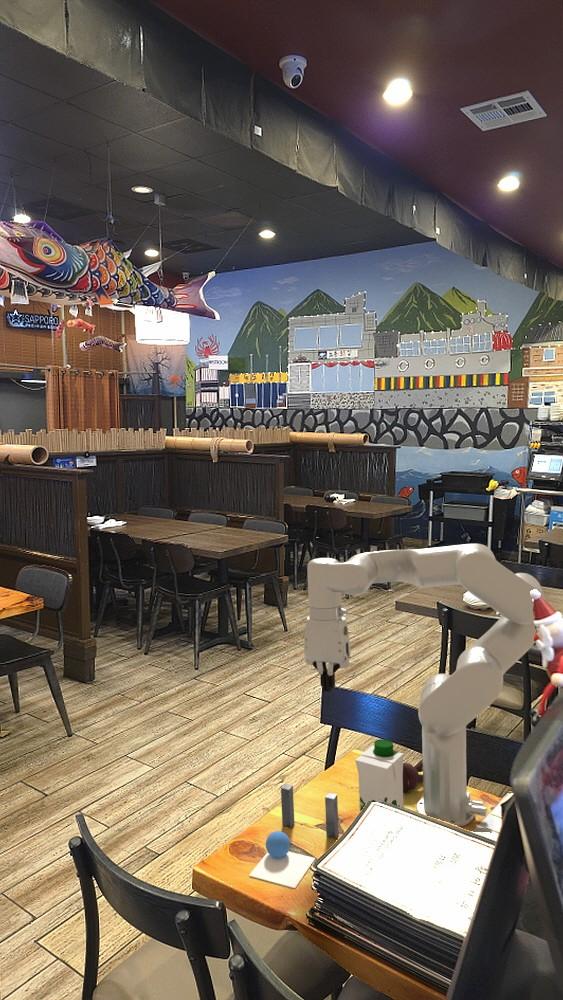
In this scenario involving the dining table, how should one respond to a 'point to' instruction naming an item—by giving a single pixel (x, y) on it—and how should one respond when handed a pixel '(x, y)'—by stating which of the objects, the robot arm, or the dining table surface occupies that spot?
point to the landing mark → (283, 869)
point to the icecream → (411, 776)
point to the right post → (331, 815)
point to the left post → (287, 806)
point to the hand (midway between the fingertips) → (328, 689)
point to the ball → (277, 844)
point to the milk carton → (380, 774)
